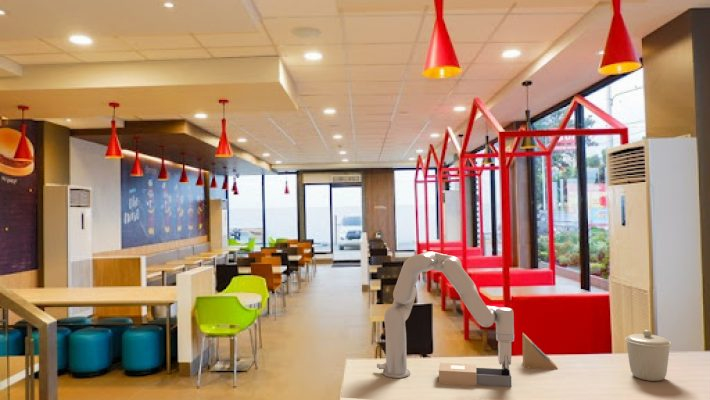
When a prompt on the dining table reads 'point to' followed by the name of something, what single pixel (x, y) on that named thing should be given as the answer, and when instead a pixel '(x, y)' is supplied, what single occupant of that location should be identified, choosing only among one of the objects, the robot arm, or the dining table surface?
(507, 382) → the tray
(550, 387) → the dining table surface
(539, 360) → the sandwich container
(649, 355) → the canister
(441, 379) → the mailer sleeve
